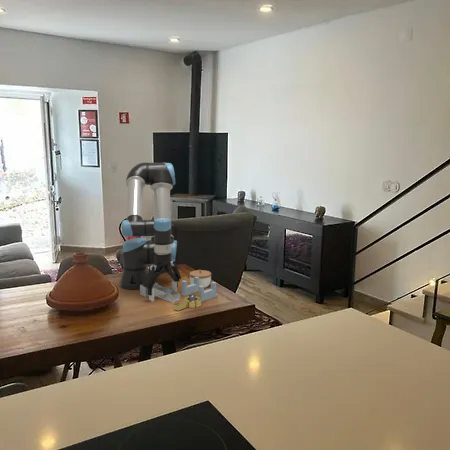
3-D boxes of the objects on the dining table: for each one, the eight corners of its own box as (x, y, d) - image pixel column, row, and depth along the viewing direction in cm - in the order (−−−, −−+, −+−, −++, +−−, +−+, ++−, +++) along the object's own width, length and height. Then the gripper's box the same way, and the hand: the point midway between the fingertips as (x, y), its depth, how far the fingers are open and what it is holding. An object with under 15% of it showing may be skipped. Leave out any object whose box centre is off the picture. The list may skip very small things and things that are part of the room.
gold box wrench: (192, 300, 196) (192, 294, 196) (204, 304, 192) (204, 298, 191) (169, 308, 187) (169, 302, 186) (182, 312, 182) (182, 306, 181)
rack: (180, 297, 204) (180, 280, 203) (194, 292, 211) (194, 276, 210) (203, 305, 194) (203, 287, 193) (217, 299, 201) (218, 283, 200)
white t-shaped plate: (140, 294, 206) (139, 284, 206) (152, 291, 212) (152, 281, 211) (169, 306, 192) (169, 295, 191) (182, 302, 198) (182, 291, 197)
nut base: (177, 307, 191) (177, 295, 190) (192, 302, 198) (192, 290, 197) (192, 312, 185) (192, 300, 184) (206, 307, 192) (207, 295, 191)
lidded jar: (210, 292, 212) (210, 273, 210) (188, 291, 212) (188, 272, 210) (211, 285, 222) (211, 267, 221) (190, 284, 223) (190, 266, 221)
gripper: (145, 259, 185) (146, 307, 189) (188, 249, 204) (188, 293, 207) (134, 256, 190) (135, 303, 194) (177, 247, 209) (178, 290, 212)
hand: (163, 298), depth 201 cm, fingers open, 13 cm apart
